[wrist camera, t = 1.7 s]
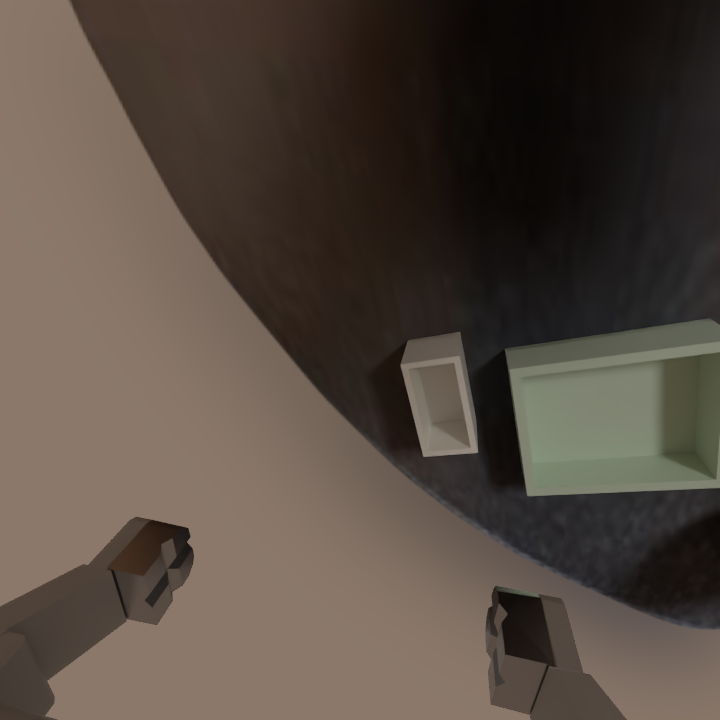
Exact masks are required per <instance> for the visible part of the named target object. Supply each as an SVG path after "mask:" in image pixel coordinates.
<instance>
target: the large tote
mask: <svg viewBox="0 0 720 720" xmlns="http://www.w3.org/2000/svg"><path fill="white" fill-rule="evenodd" d="M505 354H506V361H507V368H508V375H509V382H510V389H511V396H512V403H513V410H514V416H515V423H516V430H517V437H518V444H519V451H520V458H521V465H522V471H523V476H524V481H525V486H526V492H527V496H542V495H565V494H588V493H611V492H634V491H657V490H680V489H703V488H720V325H719V324H717V323H716V322H714V321H713V320H711V319H710V318H709V319H703V320H696V321H689V322H682V323H676V324H669V325H662V326H655V327H648V328H642V329H635V330H628V331H621V332H615V333H608V334H601V335H594V336H588V337H581V338H574V339H567V340H561V341H554V342H547V343H540V344H533V345H527V346H520V347H513V348H506V349H505Z"/></svg>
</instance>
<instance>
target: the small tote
mask: <svg viewBox="0 0 720 720" xmlns="http://www.w3.org/2000/svg"><path fill="white" fill-rule="evenodd" d="M400 365H401V369H402V373H403V377H404V381H405V385H406V389H407V393H408V397H409V401H410V405H411V409H412V413H413V417H414V421H415V425H416V429H417V433H418V437H419V441H420V445H421V449H422V453H423V457H428V456H441V455H454V454H467V453H478V444H477V424H476V416H475V410H474V405H473V399H472V394H471V388H470V383H469V378H468V372H467V367H466V361H465V356H464V350H463V345H462V340H461V334H460V332H455V333H449V334H443V335H437V336H431V337H425V338H419V339H413V340H408V342H407V345H406V348H405V351H404V355H403V358H402V361H401V364H400Z"/></svg>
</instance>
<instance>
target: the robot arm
mask: <svg viewBox="0 0 720 720" xmlns="http://www.w3.org/2000/svg"><path fill="white" fill-rule="evenodd" d="M189 538H190V533H189V529H188V528H185V527H181V526H176V525H172V524H168V523H163V522H159V521H154V520H150V519H144V518H139V517H135V518H133V519H131V520H130V521H129V522H128V523H127V524H126V525H125V526H124V527H123V528H122V529H121V530H120V532H118V533H117V535H116V536H115V537H114V538H113V539H112V540H111V541H110V542H109V543H108V544H107V545H106V547H104V549H103V550H102V551H101V552H100V553H99V554H98V555H97V556H96V557H95V558H94V559H93V560H92V561H91V563H90V564H89V565H84V564H83V565H81V566H79V567H77V568H75V569H73V570H71V571H69V572H67V573H65V574H63V575H61V576H59V577H57V578H55V579H53V580H51V581H49V582H47V583H45V584H44V585H42V586H40V587H38V588H36V589H34V590H32V591H30V592H28V593H26V594H24V595H22V596H20V597H18V598H16V599H14V600H12V601H10V602H8V603H6V604H4V605H2V606H0V720H56V719H53V718H49V717H46V716H45V715H46V714H47V712H48V711H49V710H50V708H51V707H52V706H53V704H54V694H53V692H52V690H51V688H50V686H49V684H48V682H47V680H49V679H50V678H51V677H53V676H54V675H55V674H57V673H58V672H59V671H61V670H62V669H63V668H64V667H66V666H67V665H69V664H70V663H71V662H73V661H74V660H75V659H77V658H78V657H79V656H81V655H82V654H83V653H85V652H86V651H87V650H89V649H90V648H91V647H93V646H94V645H95V644H97V643H98V642H99V641H101V640H102V639H103V638H105V637H106V636H107V635H109V634H110V633H111V632H113V631H114V630H115V629H117V628H118V627H119V626H121V625H122V624H123V623H125V622H126V619H130V620H135V621H139V622H145V623H149V624H155V625H157V624H158V622H159V621H160V619H161V618H162V616H163V615H164V613H165V612H166V610H167V609H168V607H169V606H170V604H171V603H172V601H173V597H172V592H173V591H175V590H176V589H178V588H179V587H181V586H183V584H184V582H185V581H186V579H187V578H188V576H189V573H190V571H191V568H192V565H193V559H194V554H193V549H192V547H191V546H190V545H189V544H188V543H187V541H188V540H189ZM486 652H487V653H488V655H489V656H490V658H491V662H490V667H489V670H488V677H489V689H490V701H491V704H492V705H496V706H499V707H503V708H507V709H511V710H514V711H518V712H522V713H525V714H529V715H530V718H531V720H627V719H626V718H625V717H624V716H623V715H622V713H621V712H620V711H619V710H618V708H617V707H616V706H615V705H614V703H613V702H612V701H611V700H610V698H609V697H608V696H607V695H606V694H605V692H604V691H603V690H602V689H601V687H600V686H599V685H598V684H597V682H596V681H595V680H594V679H593V677H592V676H591V675H589V674H585V673H583V671H582V667H581V663H580V660H579V656H578V652H577V648H576V645H575V641H574V638H573V634H572V630H571V626H570V623H569V619H568V615H567V612H566V608H565V605H564V602H563V601H562V599H560V598H556V597H550V596H545V595H540V594H539V595H538V594H537V593H532V592H526V591H521V590H515V589H509V588H504V587H498V586H495V587H494V589H493V592H492V606H491V607H490V608H488V613H487V619H486Z"/></svg>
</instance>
